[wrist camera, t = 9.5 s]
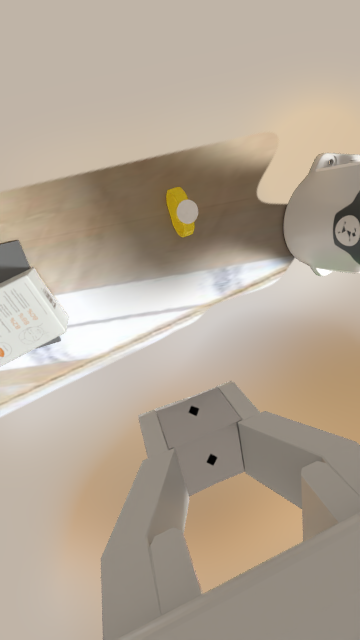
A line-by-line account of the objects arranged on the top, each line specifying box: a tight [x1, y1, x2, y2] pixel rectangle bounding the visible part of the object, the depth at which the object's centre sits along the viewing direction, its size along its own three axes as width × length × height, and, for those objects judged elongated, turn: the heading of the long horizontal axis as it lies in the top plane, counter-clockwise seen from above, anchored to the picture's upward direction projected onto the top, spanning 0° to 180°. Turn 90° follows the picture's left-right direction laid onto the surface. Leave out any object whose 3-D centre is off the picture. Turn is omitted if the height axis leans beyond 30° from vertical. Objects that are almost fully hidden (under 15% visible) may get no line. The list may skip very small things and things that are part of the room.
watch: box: [166, 187, 198, 237], centre depth 36 cm, size 6×3×6 cm, turn 17°
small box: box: [0, 268, 69, 367], centre depth 34 cm, size 8×6×10 cm
